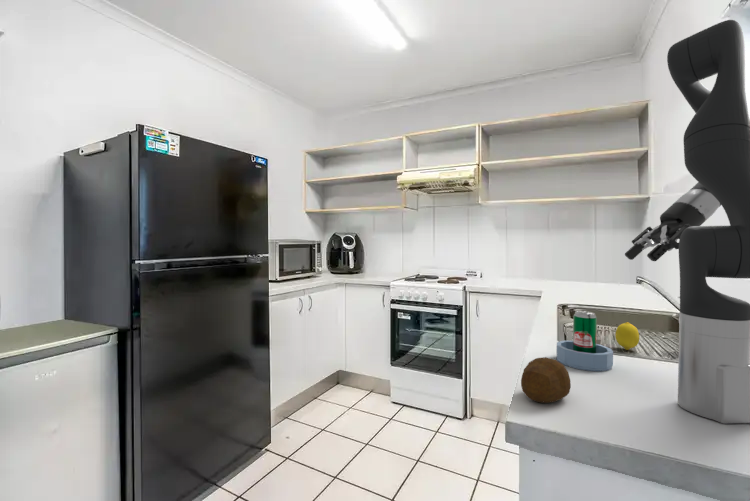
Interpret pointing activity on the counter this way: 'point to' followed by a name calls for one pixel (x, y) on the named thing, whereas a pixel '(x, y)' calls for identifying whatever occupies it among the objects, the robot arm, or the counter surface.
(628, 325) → the lemon
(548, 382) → the potato
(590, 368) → the bowl
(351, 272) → the counter surface
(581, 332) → the soda can
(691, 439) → the counter surface
